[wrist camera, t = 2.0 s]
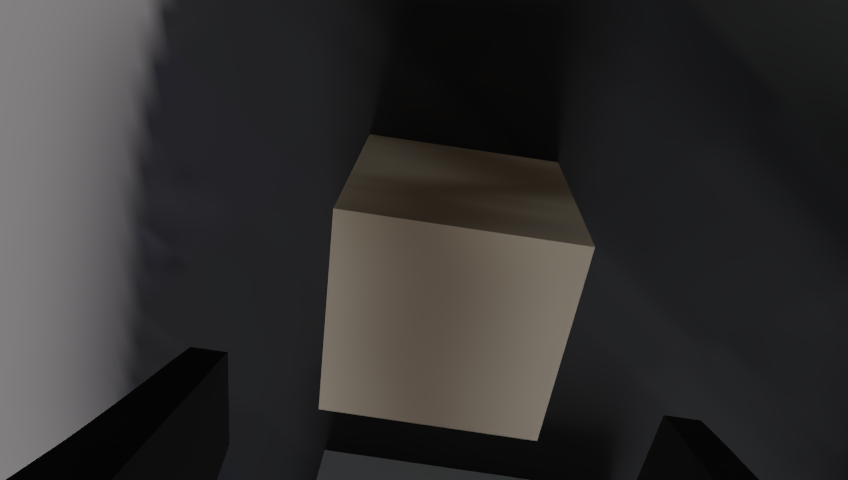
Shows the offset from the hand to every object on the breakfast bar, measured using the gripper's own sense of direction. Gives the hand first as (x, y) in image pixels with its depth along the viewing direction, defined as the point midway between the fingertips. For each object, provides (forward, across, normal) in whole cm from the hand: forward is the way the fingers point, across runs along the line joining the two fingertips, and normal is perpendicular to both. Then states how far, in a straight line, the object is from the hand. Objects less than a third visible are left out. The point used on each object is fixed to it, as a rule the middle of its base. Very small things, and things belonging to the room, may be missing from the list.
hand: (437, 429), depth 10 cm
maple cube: (+8, 0, 0) cm, 8 cm away
